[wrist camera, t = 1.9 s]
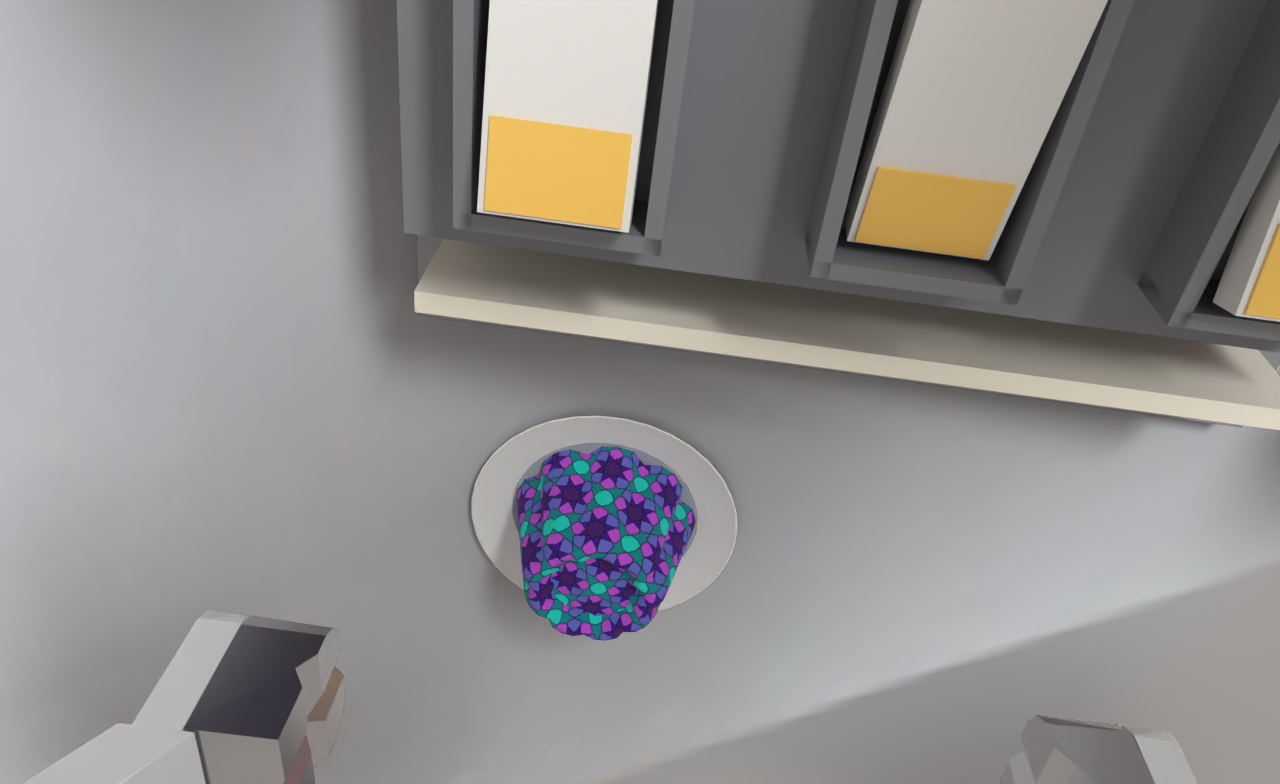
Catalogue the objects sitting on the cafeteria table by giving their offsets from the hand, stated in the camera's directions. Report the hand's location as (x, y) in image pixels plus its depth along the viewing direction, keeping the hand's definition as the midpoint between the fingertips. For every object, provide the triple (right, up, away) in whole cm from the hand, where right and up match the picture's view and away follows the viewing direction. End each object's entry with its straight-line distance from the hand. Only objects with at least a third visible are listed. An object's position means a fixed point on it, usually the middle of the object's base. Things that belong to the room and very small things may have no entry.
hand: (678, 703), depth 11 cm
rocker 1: (-2, +12, +13) cm, 18 cm away
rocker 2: (+8, +11, +13) cm, 19 cm away
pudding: (-2, -2, +33) cm, 33 cm away
